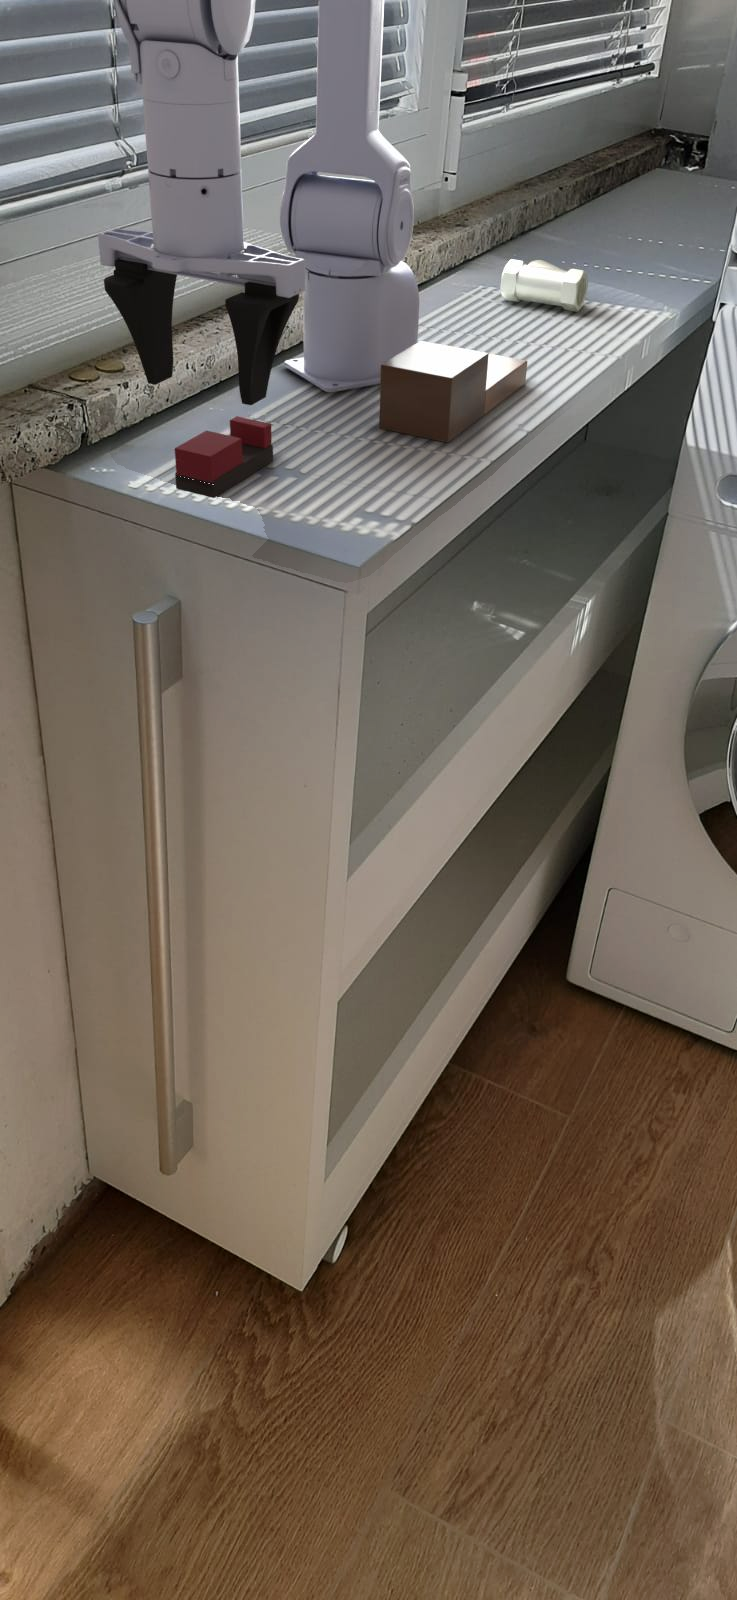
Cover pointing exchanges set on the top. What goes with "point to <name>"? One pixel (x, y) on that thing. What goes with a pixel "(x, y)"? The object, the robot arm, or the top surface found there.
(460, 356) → the copper l-shaped step block
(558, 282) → the pipe fitting
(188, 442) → the red blocks on slab
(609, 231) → the top surface
